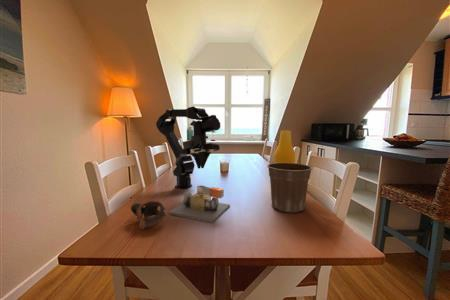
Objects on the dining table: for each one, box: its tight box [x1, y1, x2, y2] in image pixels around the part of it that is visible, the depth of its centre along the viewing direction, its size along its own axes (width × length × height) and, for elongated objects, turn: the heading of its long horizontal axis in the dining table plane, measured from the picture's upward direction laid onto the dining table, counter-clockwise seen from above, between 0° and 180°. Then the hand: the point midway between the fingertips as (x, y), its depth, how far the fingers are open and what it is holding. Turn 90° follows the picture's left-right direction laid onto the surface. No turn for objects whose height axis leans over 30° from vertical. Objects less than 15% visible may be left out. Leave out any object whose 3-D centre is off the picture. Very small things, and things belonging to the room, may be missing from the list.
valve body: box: [182, 192, 220, 212], centre depth 77 cm, size 12×5×6 cm, turn 68°
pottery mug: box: [130, 199, 167, 231], centre depth 66 cm, size 12×10×8 cm
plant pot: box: [267, 162, 313, 214], centre depth 80 cm, size 16×16×16 cm
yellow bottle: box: [273, 130, 296, 163], centre depth 96 cm, size 9×9×29 cm
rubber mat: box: [168, 202, 231, 224], centre depth 77 cm, size 17×15×1 cm
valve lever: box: [196, 185, 225, 199], centre depth 74 cm, size 10×3×3 cm, turn 62°
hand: (200, 168), depth 93 cm, fingers closed
